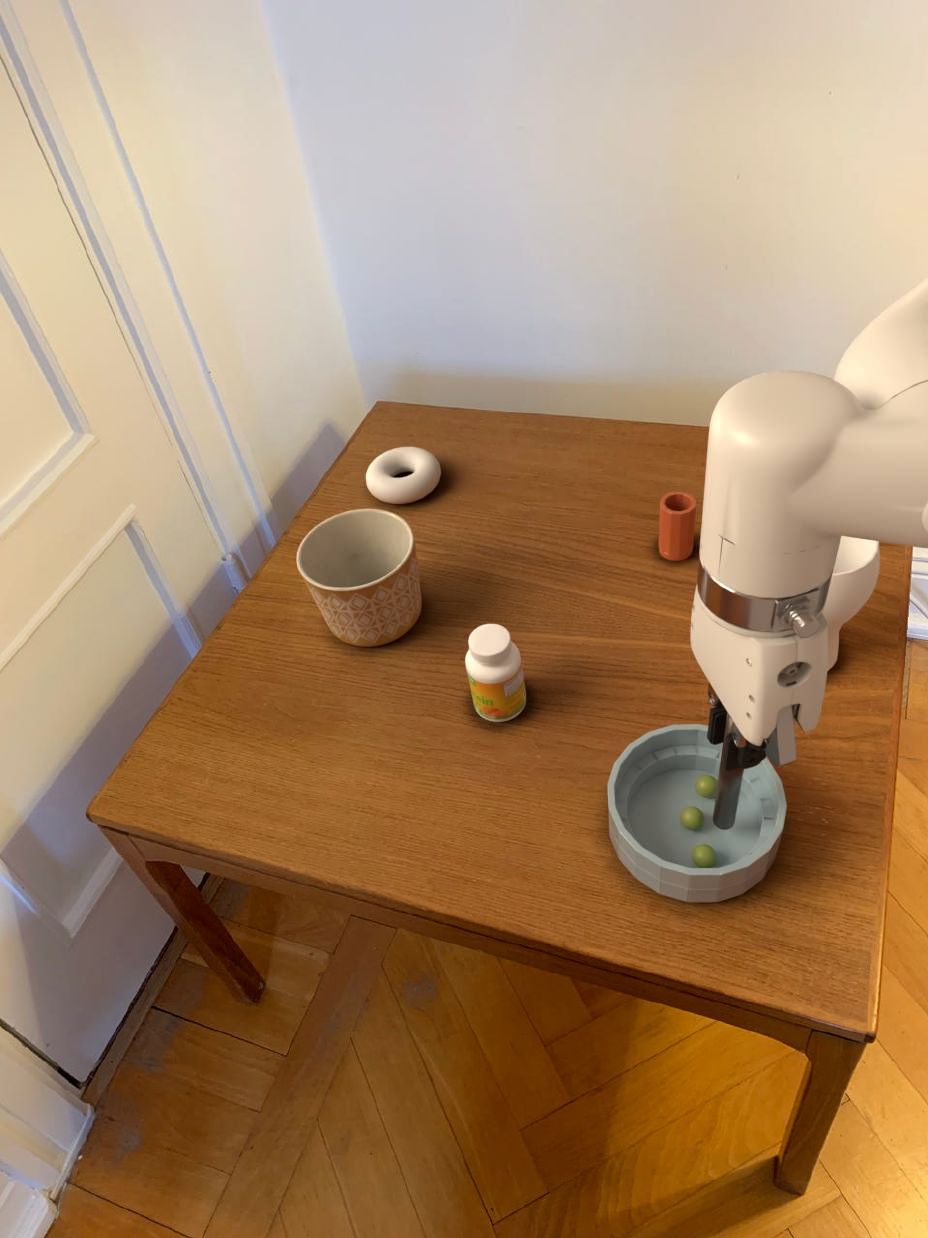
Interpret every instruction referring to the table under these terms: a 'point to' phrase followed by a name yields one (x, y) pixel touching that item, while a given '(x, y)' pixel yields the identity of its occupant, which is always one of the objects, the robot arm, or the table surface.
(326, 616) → the planter
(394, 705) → the table surface
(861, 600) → the cup
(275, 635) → the table surface
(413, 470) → the donut
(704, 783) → the pea
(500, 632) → the supplement bottle
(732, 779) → the stick
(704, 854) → the pea
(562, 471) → the table surface
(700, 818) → the pea
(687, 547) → the holder
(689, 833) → the bowl
